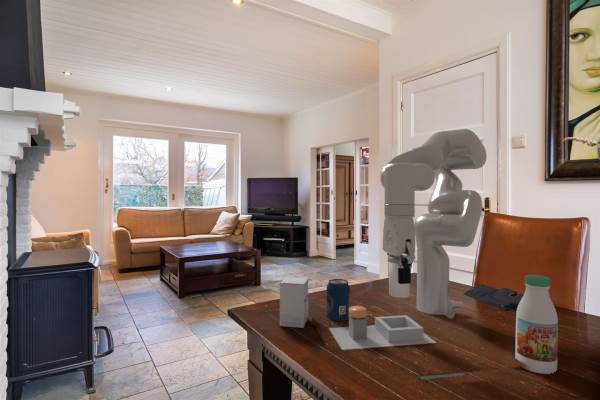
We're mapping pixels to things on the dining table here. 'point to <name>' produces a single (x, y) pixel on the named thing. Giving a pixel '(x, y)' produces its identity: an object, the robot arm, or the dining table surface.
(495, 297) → the dark slate chunk
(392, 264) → the cartridge
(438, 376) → the mat
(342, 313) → the soda can
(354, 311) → the brown egg
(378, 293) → the dining table surface
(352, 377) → the dining table surface
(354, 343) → the housing
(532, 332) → the milk bottle
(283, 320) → the supplement box
